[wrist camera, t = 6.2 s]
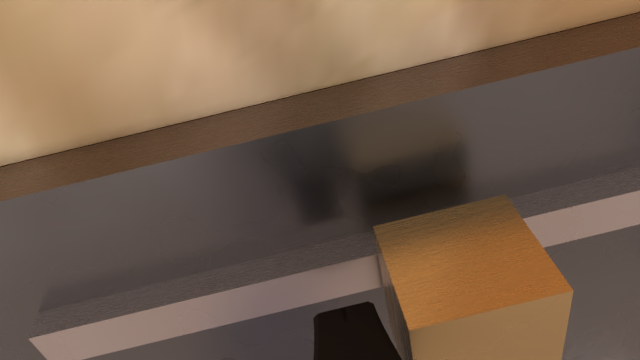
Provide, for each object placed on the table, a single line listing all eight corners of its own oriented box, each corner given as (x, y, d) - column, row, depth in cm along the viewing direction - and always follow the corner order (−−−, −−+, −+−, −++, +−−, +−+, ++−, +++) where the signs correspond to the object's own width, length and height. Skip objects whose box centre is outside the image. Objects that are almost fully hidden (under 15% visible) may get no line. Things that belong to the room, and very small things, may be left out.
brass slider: (489, 371, 17) (540, 482, 14) (399, 393, 17) (432, 508, 14) (493, 178, 12) (573, 290, 9) (367, 209, 12) (408, 330, 9)
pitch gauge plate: (769, 305, 21) (883, 411, 17) (137, 458, 20) (119, 597, 17) (973, -69, 12) (1287, -14, 9) (-102, 191, 12) (-241, 357, 8)
